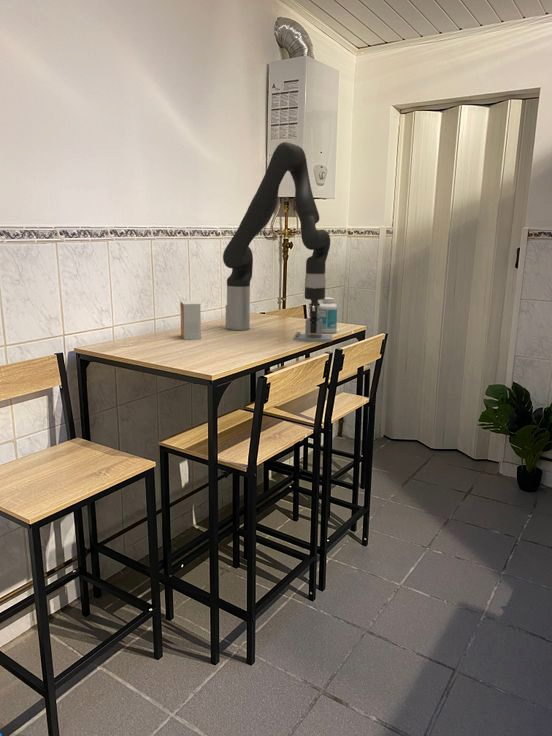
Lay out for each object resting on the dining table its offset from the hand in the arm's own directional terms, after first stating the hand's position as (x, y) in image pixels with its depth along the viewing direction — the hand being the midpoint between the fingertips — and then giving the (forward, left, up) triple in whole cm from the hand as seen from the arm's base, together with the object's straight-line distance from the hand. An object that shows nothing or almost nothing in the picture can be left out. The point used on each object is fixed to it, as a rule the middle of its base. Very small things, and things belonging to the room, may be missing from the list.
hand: (313, 331), depth 214 cm
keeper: (0, 0, -3) cm, 3 cm away
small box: (-45, -6, -3) cm, 46 cm away
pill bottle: (+5, +16, -3) cm, 17 cm away
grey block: (0, 0, -1) cm, 1 cm away
